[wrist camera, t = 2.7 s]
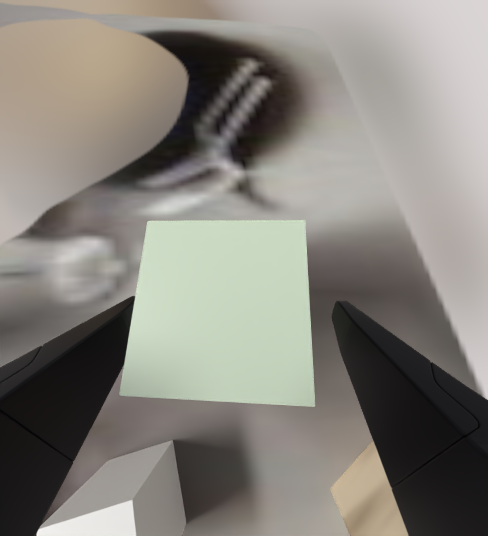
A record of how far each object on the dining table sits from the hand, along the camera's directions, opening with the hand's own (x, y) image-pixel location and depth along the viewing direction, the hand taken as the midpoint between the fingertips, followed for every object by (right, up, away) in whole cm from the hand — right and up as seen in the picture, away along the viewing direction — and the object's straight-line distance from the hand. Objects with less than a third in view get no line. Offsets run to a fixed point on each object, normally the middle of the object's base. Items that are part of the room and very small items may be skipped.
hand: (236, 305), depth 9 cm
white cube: (-7, -14, +5) cm, 17 cm away
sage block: (0, -2, +7) cm, 8 cm away
